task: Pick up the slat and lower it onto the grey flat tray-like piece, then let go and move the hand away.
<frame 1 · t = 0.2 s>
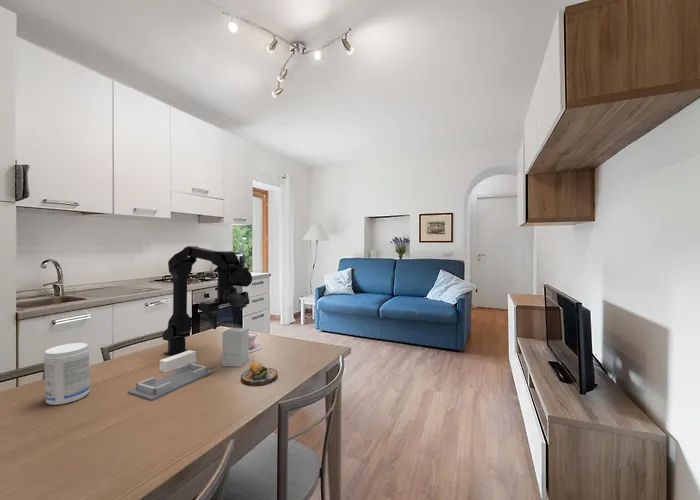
hand: (225, 326, 117), 14 cm above the table, tool pointing down, fingers open, 9 cm apart
teacup: (247, 349, 135), on the table
burger: (259, 379, 105), on the table
supplement box: (235, 363, 118), on the table
slat: (178, 366, 115), on the table
grey flat tray-like piece: (173, 382, 101), on the table
supplement tub: (67, 398, 90), on the table
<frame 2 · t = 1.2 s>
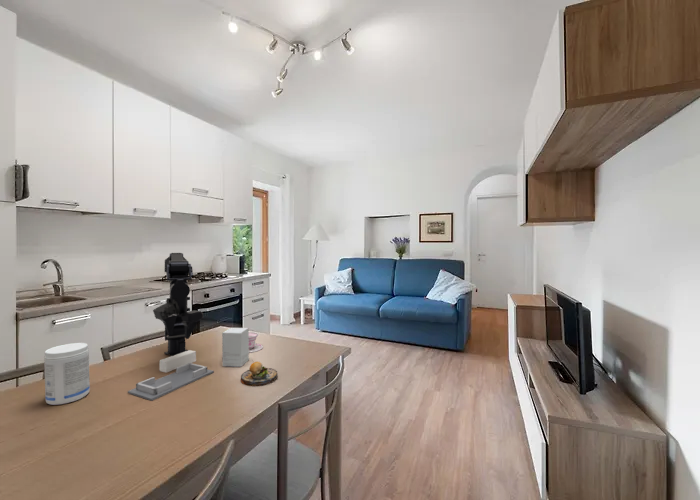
hand: (178, 337, 115), 11 cm above the table, tool pointing down, fingers open, 9 cm apart
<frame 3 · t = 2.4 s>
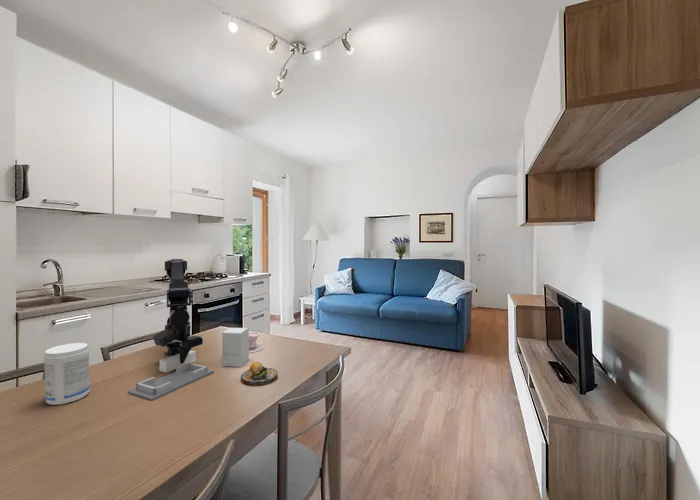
hand: (178, 362, 115), 1 cm above the table, tool pointing down, fingers closed on slat, 4 cm apart
slat: (178, 366, 115), on the table, touching gripper
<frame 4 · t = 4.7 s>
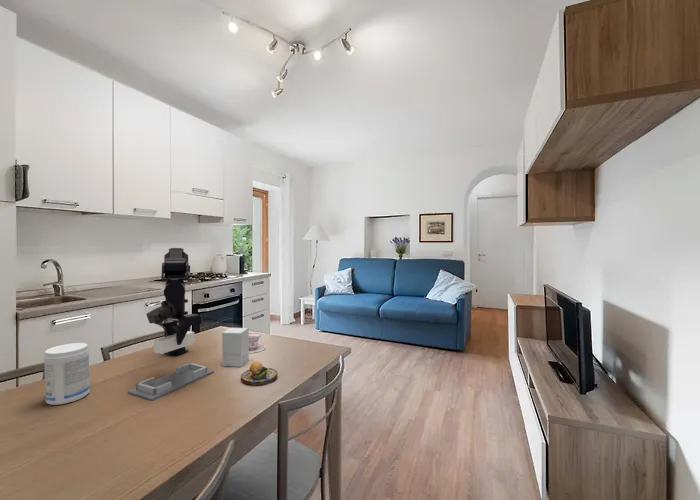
hand: (175, 344, 104), 12 cm above the table, tool pointing down, fingers closed on slat, 3 cm apart
slat: (175, 347, 104), point 10 cm above the table, touching gripper
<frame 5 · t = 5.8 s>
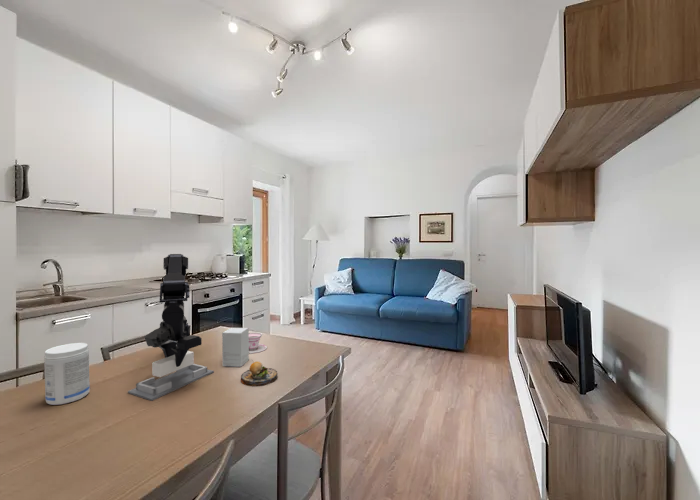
hand: (174, 365, 101), 5 cm above the table, tool pointing down, fingers closed on slat, 3 cm apart
slat: (173, 369, 101), point 4 cm above the table, touching gripper
when the fingers open (3 cm above the table, at t = 6.6 s): slat stays where it is, resting on grey flat tray-like piece.
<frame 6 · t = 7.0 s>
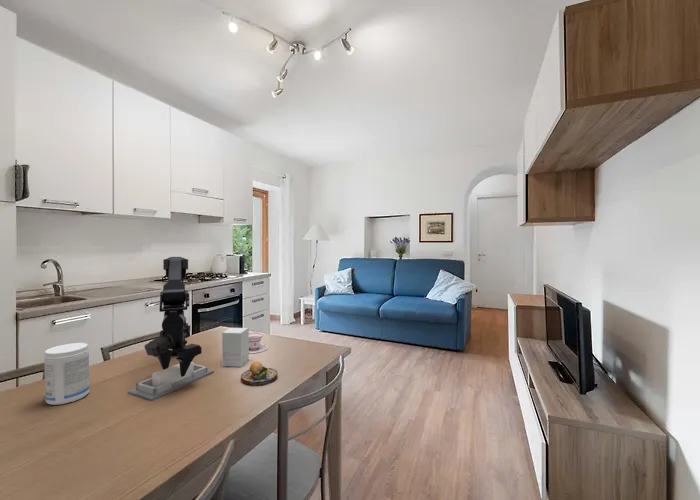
hand: (174, 374, 101), 3 cm above the table, tool pointing down, fingers open, 8 cm apart
slat: (173, 380, 101), point 1 cm above the table, touching grey flat tray-like piece
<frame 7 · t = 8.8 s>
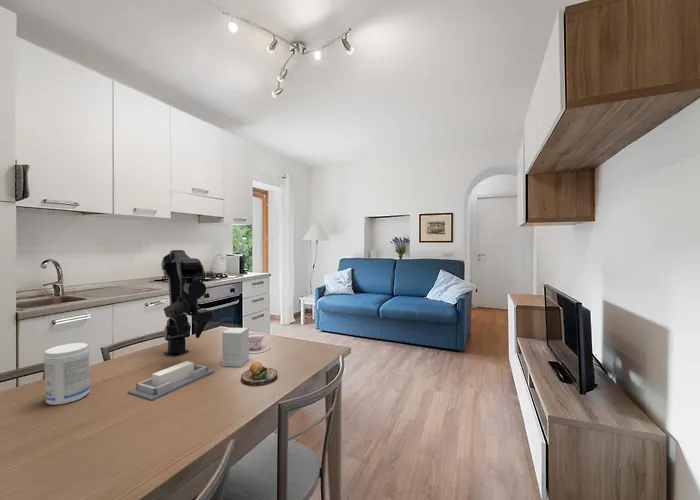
hand: (188, 335, 114), 11 cm above the table, tool pointing down, fingers open, 9 cm apart
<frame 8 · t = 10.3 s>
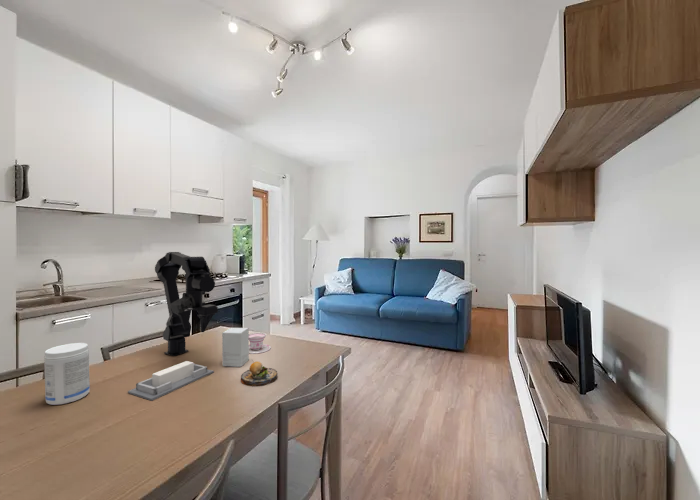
hand: (194, 330, 119), 12 cm above the table, tool pointing down, fingers open, 9 cm apart
at the end: slat 0.0 cm off-centre on the grey flat tray-like piece, point 0.6 cm above the grey flat tray-like piece's base; slat tilted 0°; the gripper is holding nothing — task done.
